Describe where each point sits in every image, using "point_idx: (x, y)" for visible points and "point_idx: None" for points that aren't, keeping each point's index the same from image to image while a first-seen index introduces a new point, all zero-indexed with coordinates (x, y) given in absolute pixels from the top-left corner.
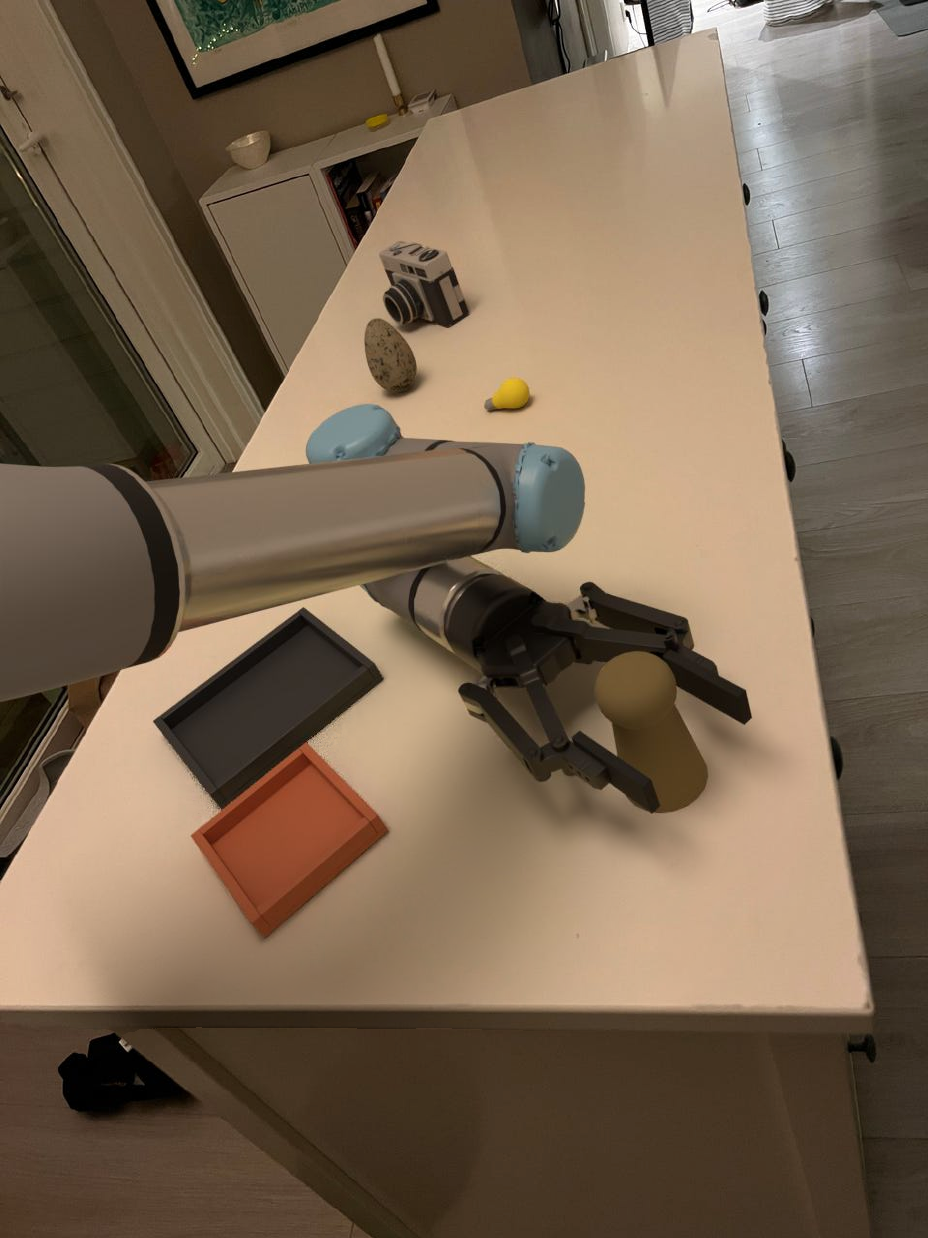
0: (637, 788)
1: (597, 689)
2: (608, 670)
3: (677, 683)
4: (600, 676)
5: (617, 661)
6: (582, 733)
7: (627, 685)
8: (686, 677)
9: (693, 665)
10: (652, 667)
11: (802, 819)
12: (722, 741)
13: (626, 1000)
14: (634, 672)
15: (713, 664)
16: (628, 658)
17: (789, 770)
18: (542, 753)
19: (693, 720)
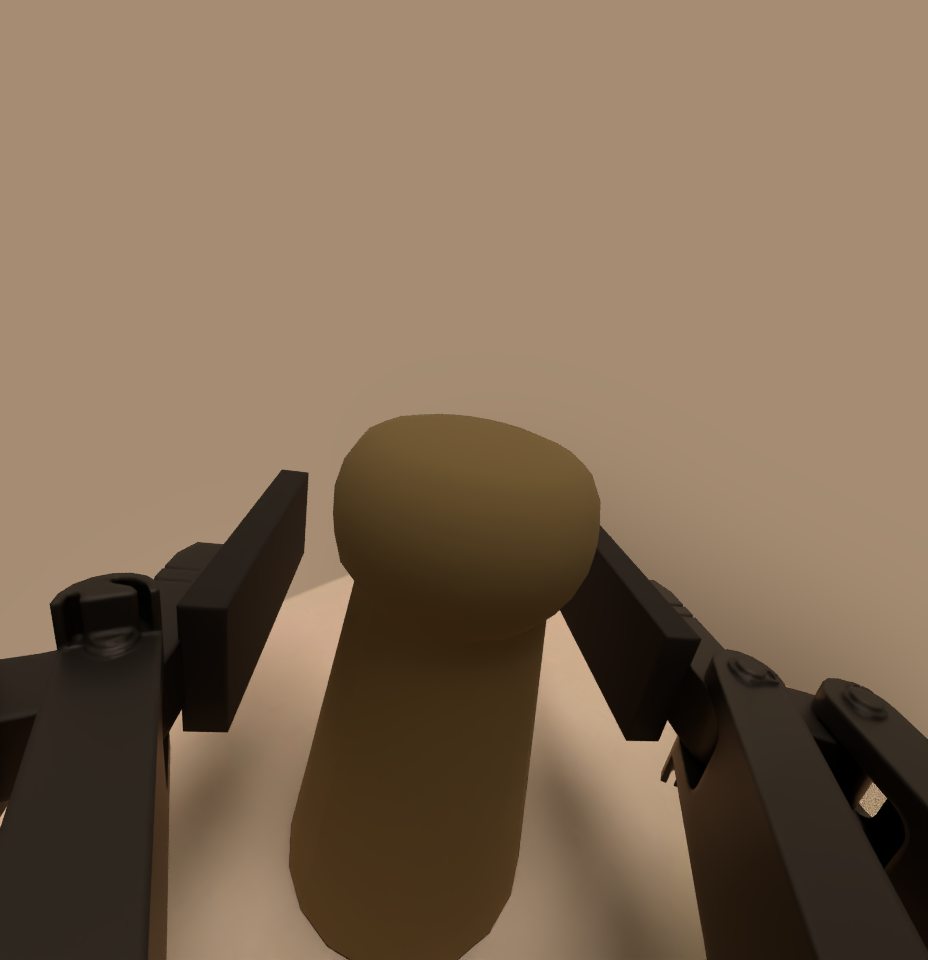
0: None
1: (592, 492)
2: (529, 460)
3: (243, 679)
4: (564, 479)
5: (477, 455)
6: (659, 622)
7: (518, 427)
8: (260, 590)
9: (243, 536)
10: (419, 415)
11: (343, 603)
12: (236, 779)
13: None
14: (473, 421)
15: (192, 547)
16: (441, 440)
17: (264, 647)
18: (817, 697)
19: (175, 913)
